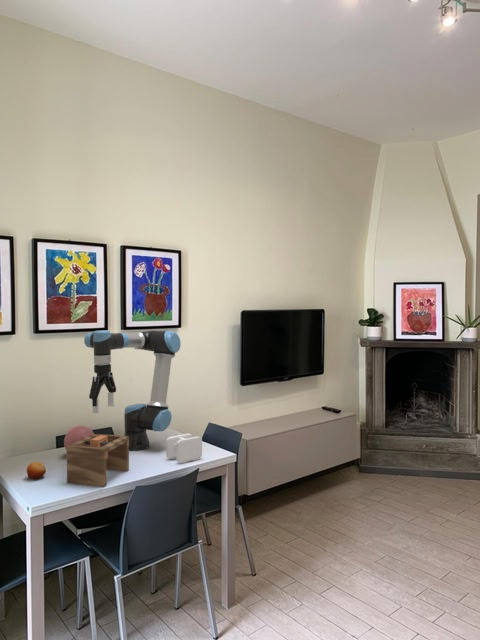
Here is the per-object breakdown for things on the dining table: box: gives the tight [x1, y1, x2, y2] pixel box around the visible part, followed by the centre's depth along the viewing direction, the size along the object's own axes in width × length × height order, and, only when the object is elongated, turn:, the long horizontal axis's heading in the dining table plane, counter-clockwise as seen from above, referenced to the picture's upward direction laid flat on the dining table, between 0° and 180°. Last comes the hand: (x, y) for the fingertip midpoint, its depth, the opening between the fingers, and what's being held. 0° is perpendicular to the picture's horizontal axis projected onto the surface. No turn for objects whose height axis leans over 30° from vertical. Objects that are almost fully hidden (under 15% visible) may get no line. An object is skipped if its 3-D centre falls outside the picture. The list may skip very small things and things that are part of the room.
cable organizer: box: [165, 433, 203, 464], centre depth 239 cm, size 15×11×12 cm
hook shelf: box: [66, 433, 130, 488], centre depth 214 cm, size 22×18×16 cm
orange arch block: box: [90, 435, 108, 459], centre depth 214 cm, size 4×8×10 cm, turn 165°
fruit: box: [26, 461, 47, 480], centre depth 212 cm, size 8×8×8 cm
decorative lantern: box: [63, 425, 95, 451], centre depth 243 cm, size 15×20×15 cm
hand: (103, 409), depth 220 cm, fingers open, 13 cm apart
